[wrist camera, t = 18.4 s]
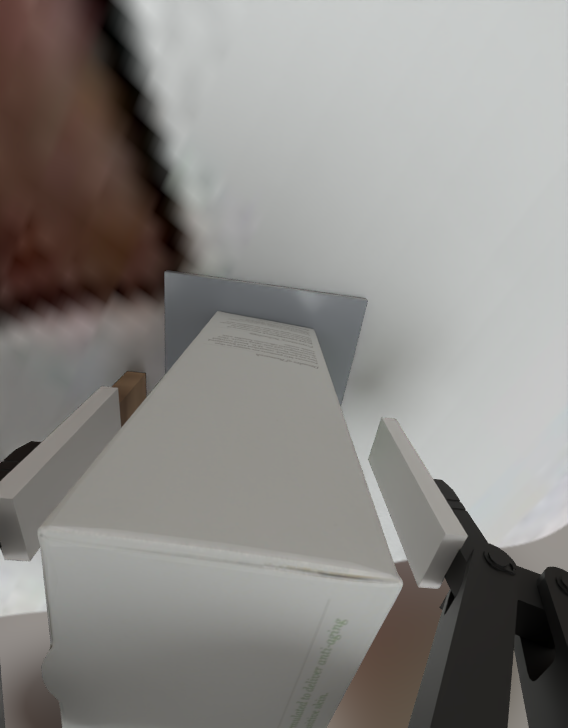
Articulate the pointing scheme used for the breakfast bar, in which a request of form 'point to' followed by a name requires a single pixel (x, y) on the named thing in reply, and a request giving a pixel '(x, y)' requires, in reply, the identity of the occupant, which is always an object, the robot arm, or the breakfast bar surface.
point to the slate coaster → (263, 315)
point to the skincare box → (218, 548)
